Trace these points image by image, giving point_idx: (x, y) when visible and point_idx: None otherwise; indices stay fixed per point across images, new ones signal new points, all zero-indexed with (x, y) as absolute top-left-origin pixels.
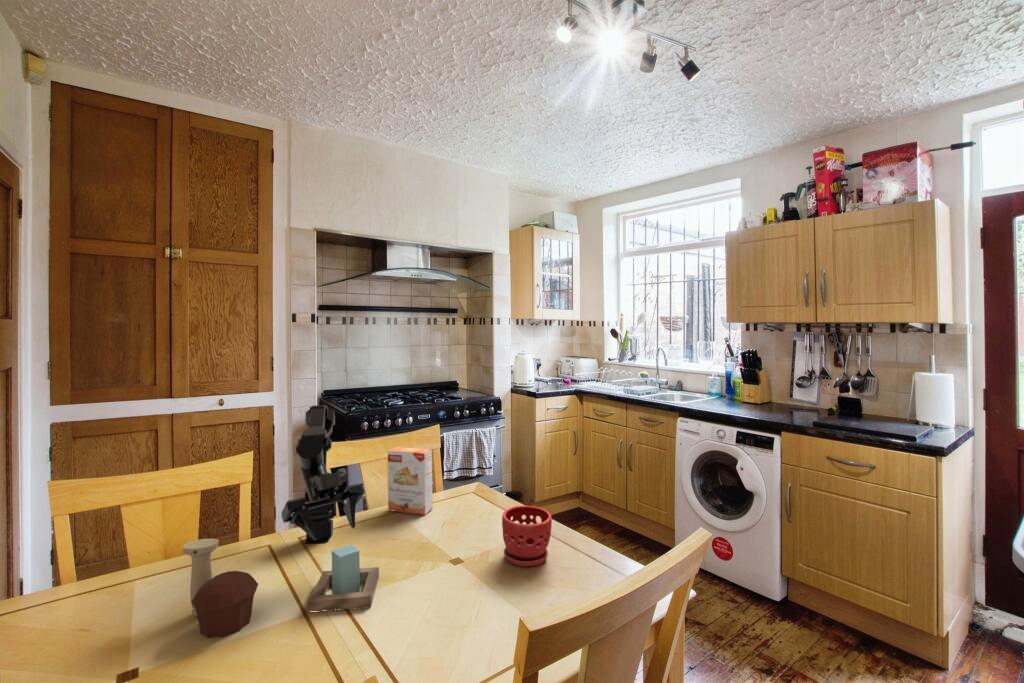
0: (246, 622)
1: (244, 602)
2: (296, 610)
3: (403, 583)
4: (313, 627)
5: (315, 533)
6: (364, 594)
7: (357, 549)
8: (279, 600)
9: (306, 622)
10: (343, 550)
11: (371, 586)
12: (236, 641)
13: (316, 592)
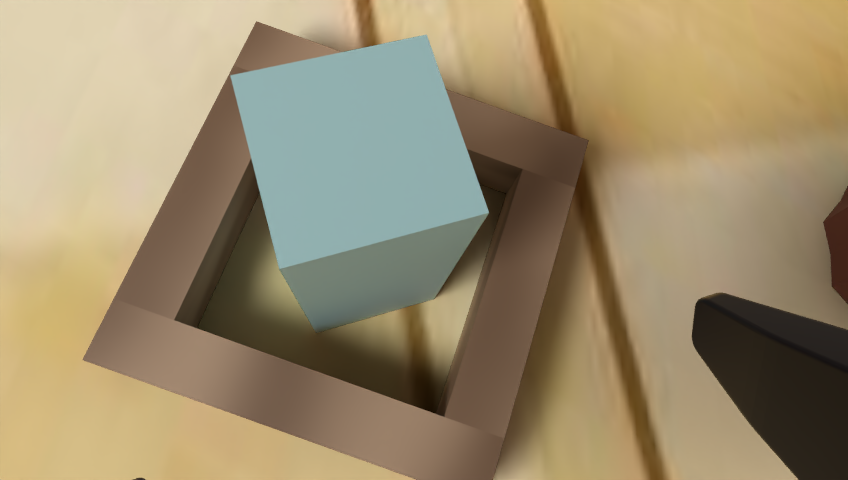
0: (842, 204)
1: None
2: (620, 222)
3: (6, 206)
4: (541, 43)
5: (756, 318)
6: (284, 53)
7: (241, 106)
8: None
9: (571, 95)
10: (376, 157)
11: (220, 117)
12: (841, 105)
13: (541, 214)
